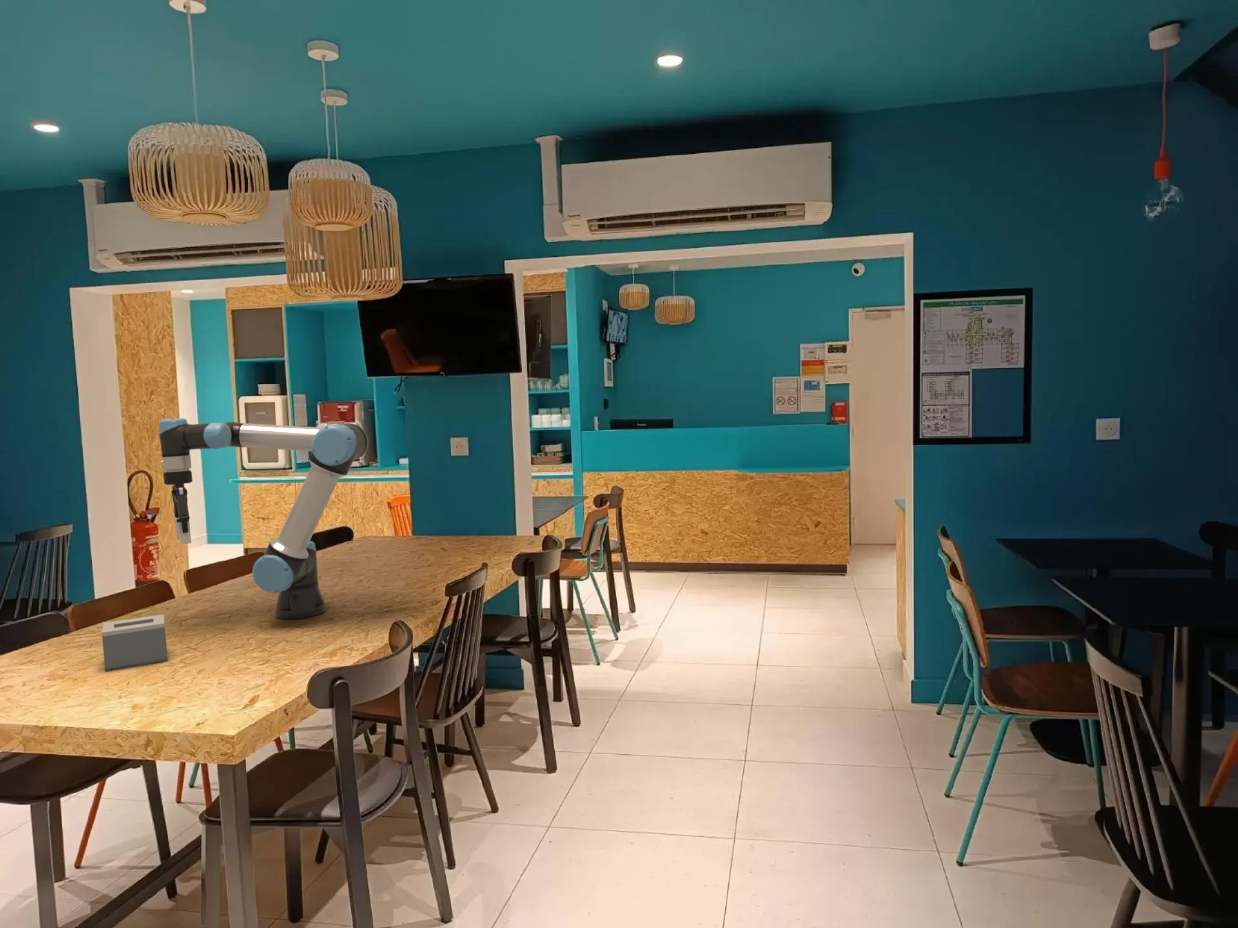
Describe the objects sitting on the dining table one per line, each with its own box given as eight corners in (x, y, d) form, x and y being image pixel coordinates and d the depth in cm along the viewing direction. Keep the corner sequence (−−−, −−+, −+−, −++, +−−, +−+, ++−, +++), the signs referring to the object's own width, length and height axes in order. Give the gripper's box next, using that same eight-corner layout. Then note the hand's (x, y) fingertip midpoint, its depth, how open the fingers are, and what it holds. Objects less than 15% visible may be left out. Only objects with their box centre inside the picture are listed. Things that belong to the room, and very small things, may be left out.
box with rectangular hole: (166, 650, 232) (163, 614, 231) (167, 660, 221) (164, 623, 221) (107, 659, 225) (103, 622, 224) (105, 671, 215) (101, 632, 214)
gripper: (160, 470, 261) (167, 538, 262) (166, 473, 240) (173, 547, 241) (187, 467, 265) (193, 535, 266) (195, 471, 244) (202, 544, 245)
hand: (184, 541), depth 254 cm, fingers open, 13 cm apart
